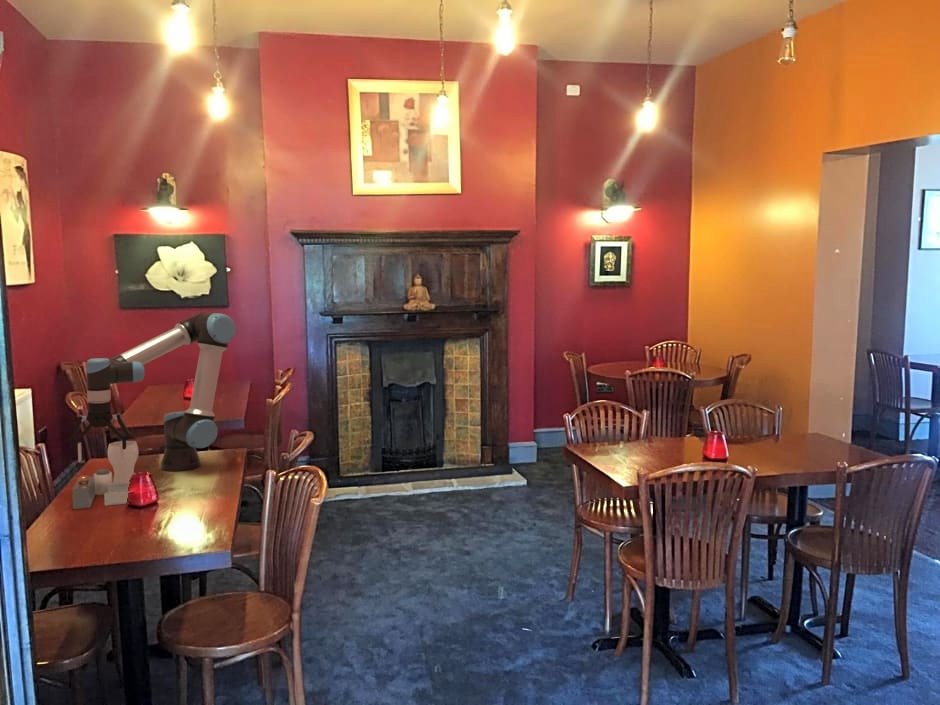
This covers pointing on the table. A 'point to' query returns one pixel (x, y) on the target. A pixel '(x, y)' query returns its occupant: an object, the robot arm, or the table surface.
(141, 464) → the table surface
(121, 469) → the cup
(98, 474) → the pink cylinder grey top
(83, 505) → the motor bracket
